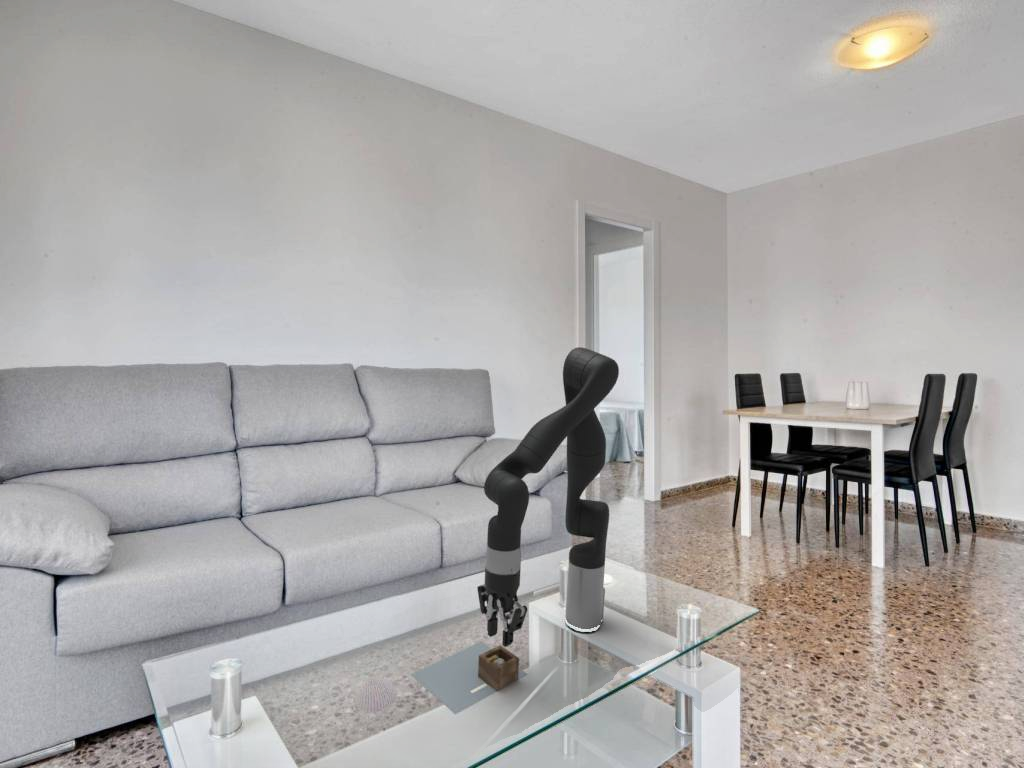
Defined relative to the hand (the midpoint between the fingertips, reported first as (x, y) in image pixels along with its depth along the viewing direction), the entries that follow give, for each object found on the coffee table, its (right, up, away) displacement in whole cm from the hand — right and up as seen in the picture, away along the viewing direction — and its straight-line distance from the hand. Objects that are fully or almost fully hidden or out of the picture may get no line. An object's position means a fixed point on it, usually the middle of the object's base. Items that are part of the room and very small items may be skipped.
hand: (499, 639), depth 127 cm
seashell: (-25, -11, -6) cm, 28 cm away
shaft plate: (-7, -10, +2) cm, 12 cm away
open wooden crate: (0, -9, +1) cm, 9 cm away
